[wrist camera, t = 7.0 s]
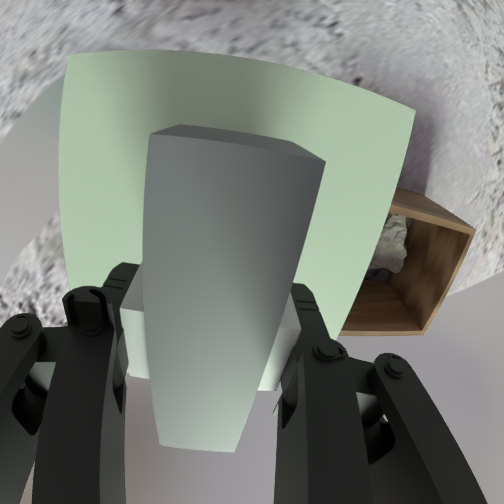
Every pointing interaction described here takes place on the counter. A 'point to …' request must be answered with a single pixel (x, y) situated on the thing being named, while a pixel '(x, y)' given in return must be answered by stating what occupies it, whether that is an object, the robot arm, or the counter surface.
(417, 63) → the counter surface
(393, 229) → the stone
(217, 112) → the lid
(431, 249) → the crate
